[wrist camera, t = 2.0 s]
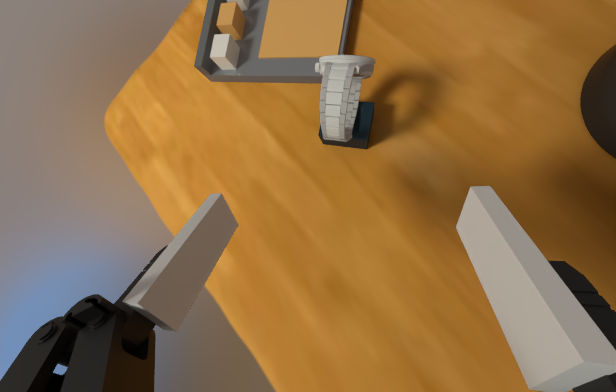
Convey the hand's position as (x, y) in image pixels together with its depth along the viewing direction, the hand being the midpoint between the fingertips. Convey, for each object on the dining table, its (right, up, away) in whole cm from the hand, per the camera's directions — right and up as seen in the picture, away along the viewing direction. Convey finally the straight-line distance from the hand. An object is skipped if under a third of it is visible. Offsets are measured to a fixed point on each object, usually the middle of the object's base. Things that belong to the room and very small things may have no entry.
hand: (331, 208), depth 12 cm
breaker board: (-5, +24, +19) cm, 31 cm away
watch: (+4, +9, +15) cm, 18 cm away
